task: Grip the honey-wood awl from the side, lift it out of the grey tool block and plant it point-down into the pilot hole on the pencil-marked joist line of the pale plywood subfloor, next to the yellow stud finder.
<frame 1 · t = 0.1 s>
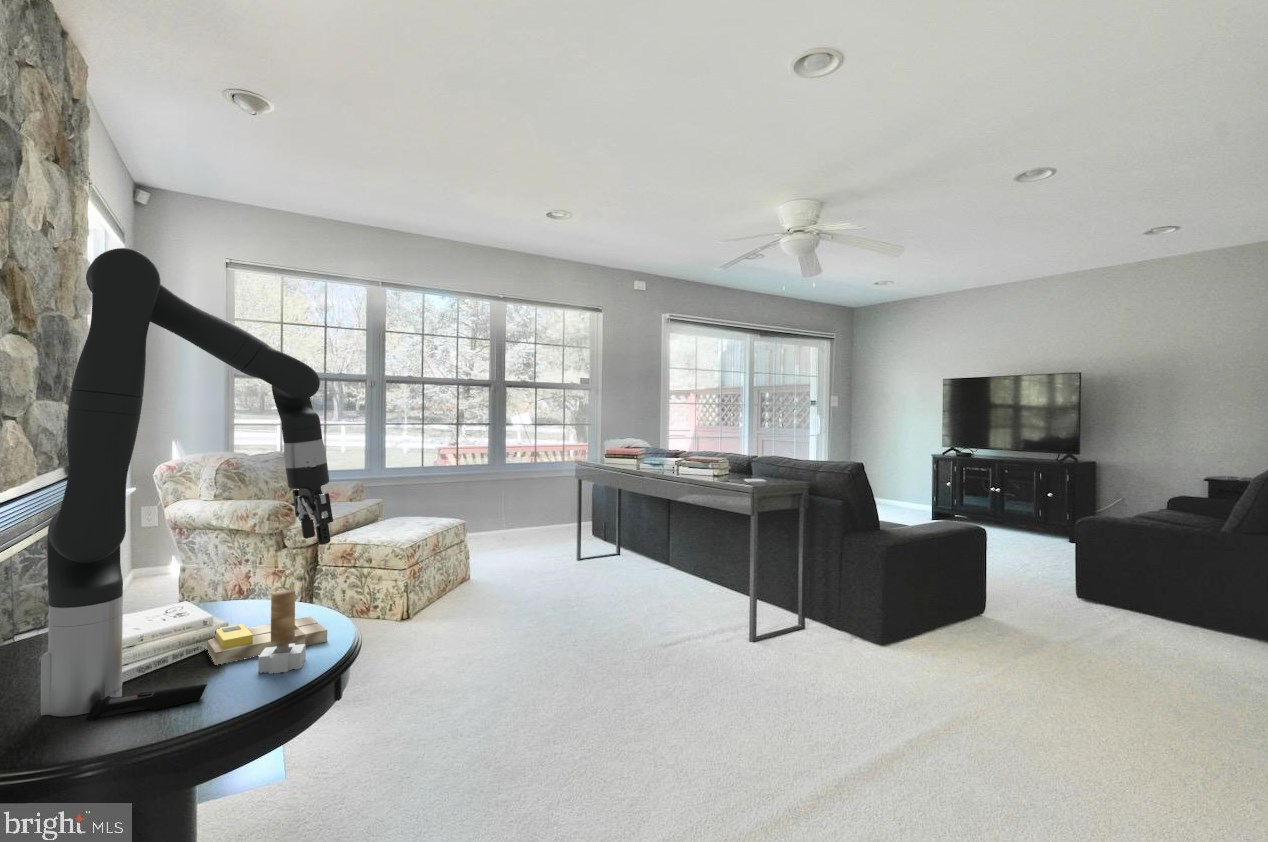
hand: (316, 540, 129), 22 cm above the table, tool pointing down, fingers open, 8 cm apart
tool block: (282, 665, 120), on the table
electric trimmer: (147, 710, 102), on the table
subfloor: (266, 644, 131), on the table
stud finder: (233, 639, 127), point 2 cm above the table, touching subfloor
awl: (282, 666, 120), resting in tool block
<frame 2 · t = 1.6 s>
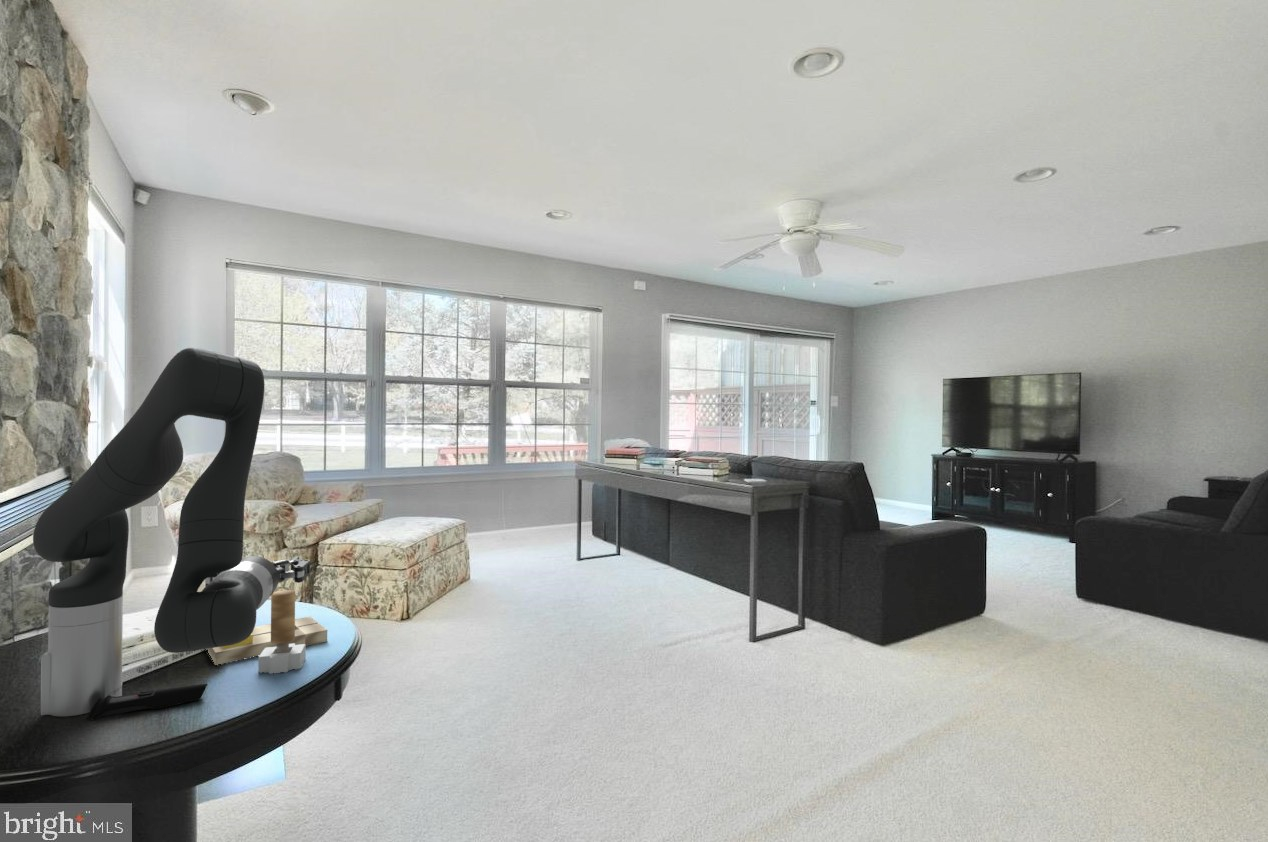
hand: (269, 563, 110), 22 cm above the table, tool horizontal, fingers open, 8 cm apart
nothing on the table moved.
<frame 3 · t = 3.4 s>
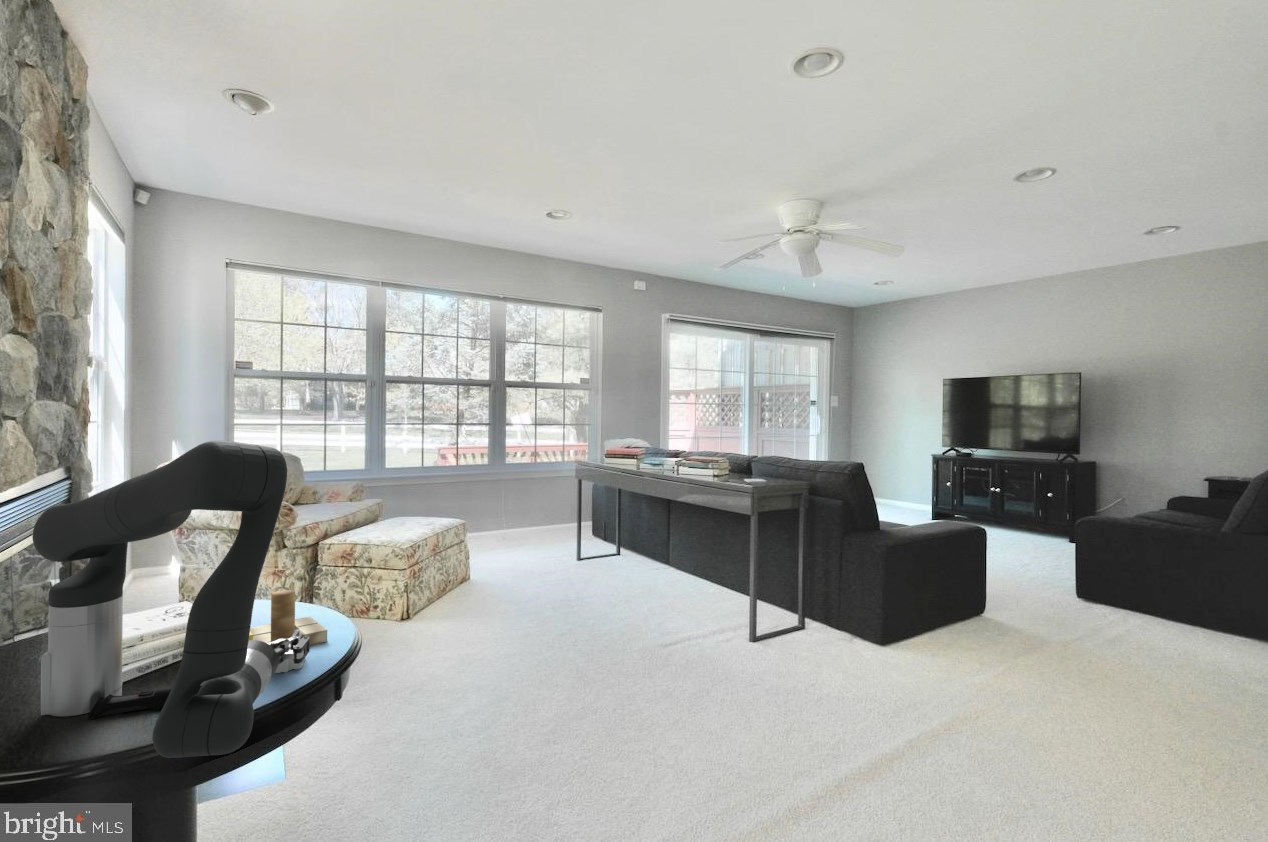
hand: (270, 638, 111), 9 cm above the table, tool horizontal, fingers open, 8 cm apart
nothing on the table moved.
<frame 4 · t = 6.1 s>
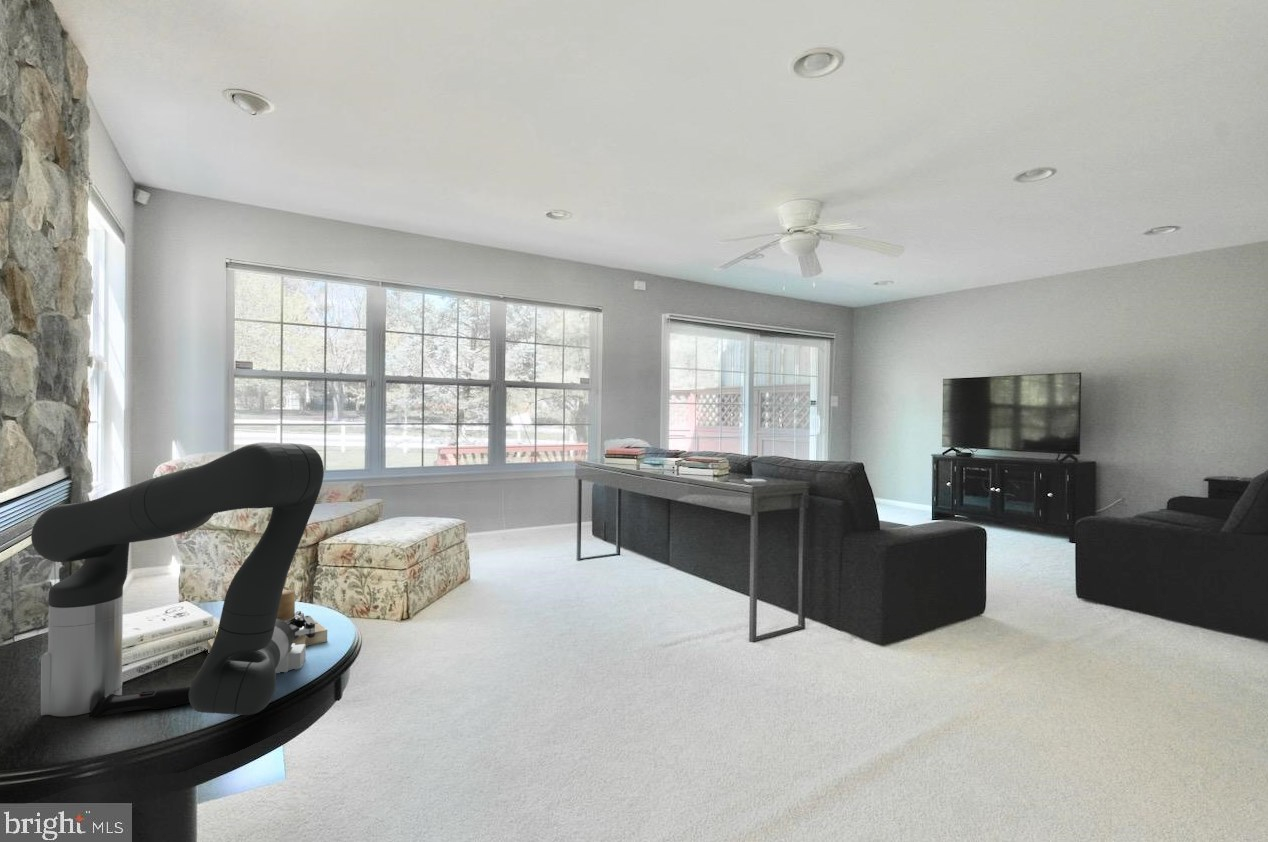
hand: (285, 617, 123), 8 cm above the table, tool horizontal, fingers closed on awl, 4 cm apart
awl: (282, 666, 120), resting in tool block, touching gripper
everything else where it was.
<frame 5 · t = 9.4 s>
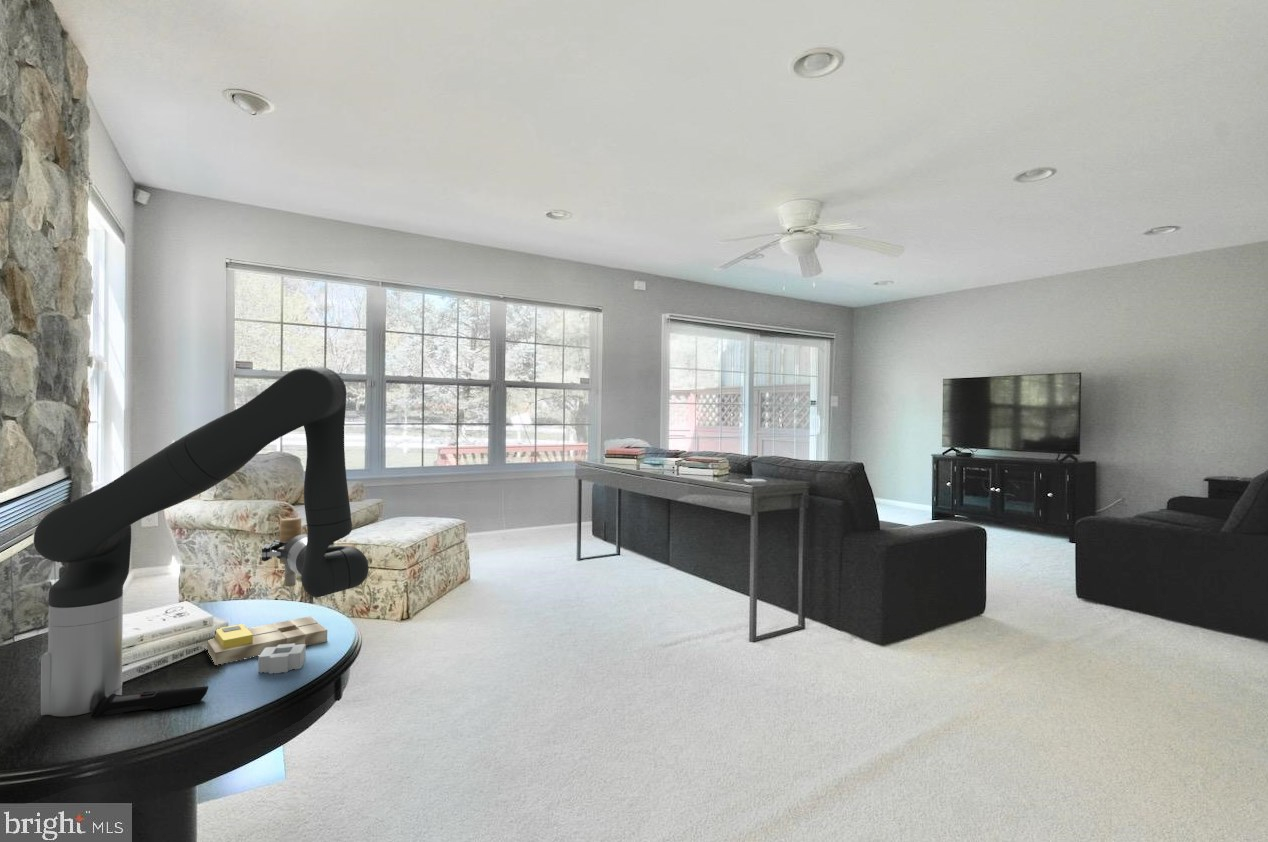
hand: (287, 543, 135), 20 cm above the table, tool horizontal, fingers closed on awl, 4 cm apart
awl: (290, 585, 133), point 12 cm above the table, touching gripper
everything else where it was.
when the fingers open (9 cm above the table, at t = 12.5 s): awl stays where it is, resting in subfloor.
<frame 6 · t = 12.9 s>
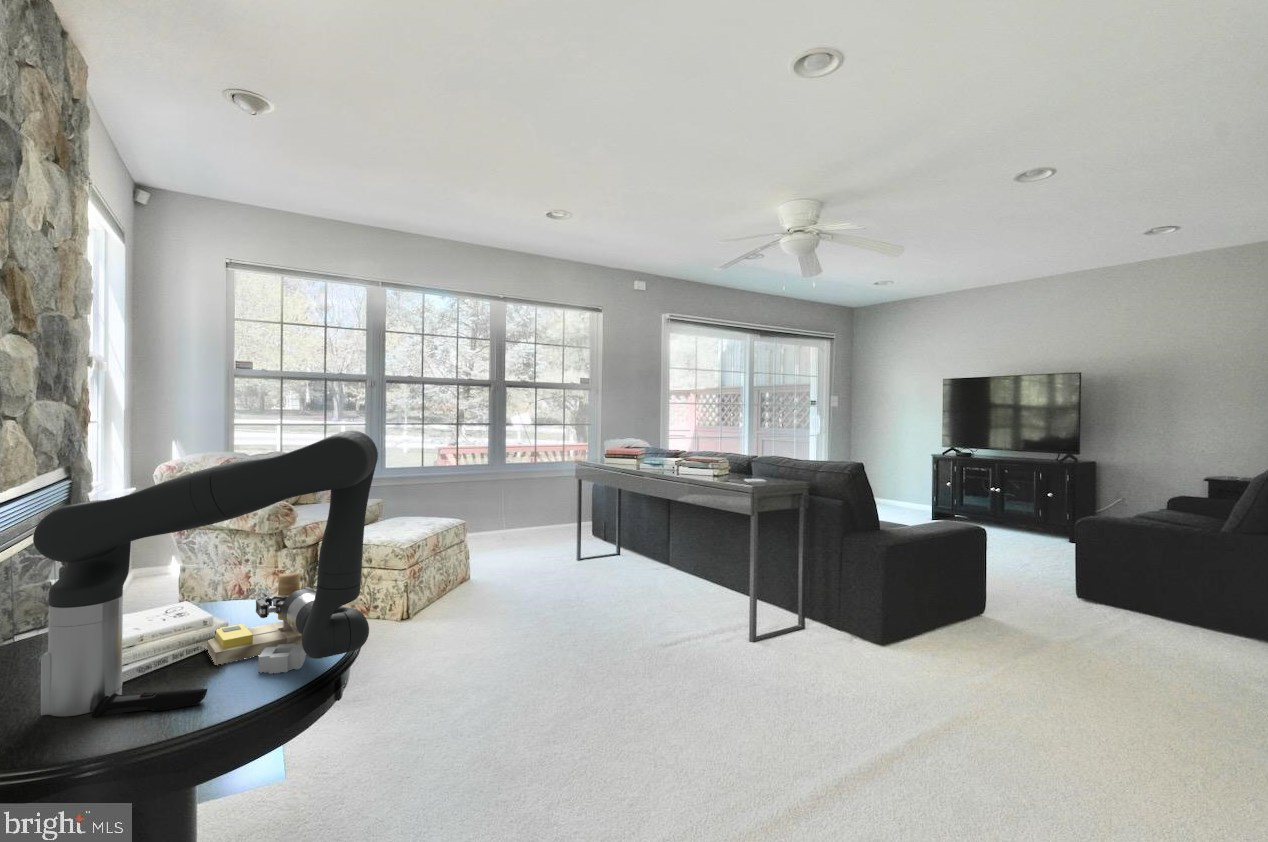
hand: (285, 594, 135), 9 cm above the table, tool horizontal, fingers open, 7 cm apart
awl: (288, 640, 134), resting in subfloor
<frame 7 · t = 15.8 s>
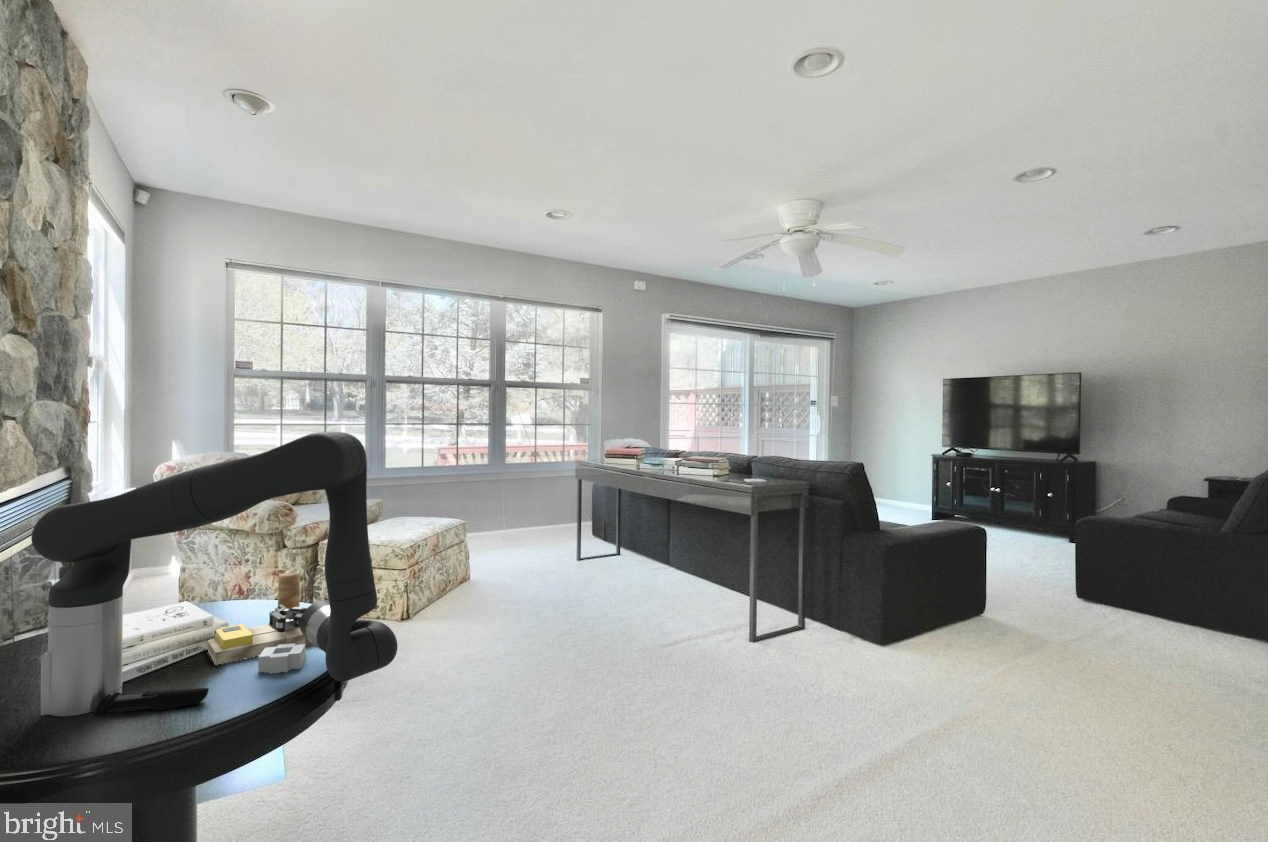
hand: (303, 605, 126), 10 cm above the table, tool horizontal, fingers open, 8 cm apart
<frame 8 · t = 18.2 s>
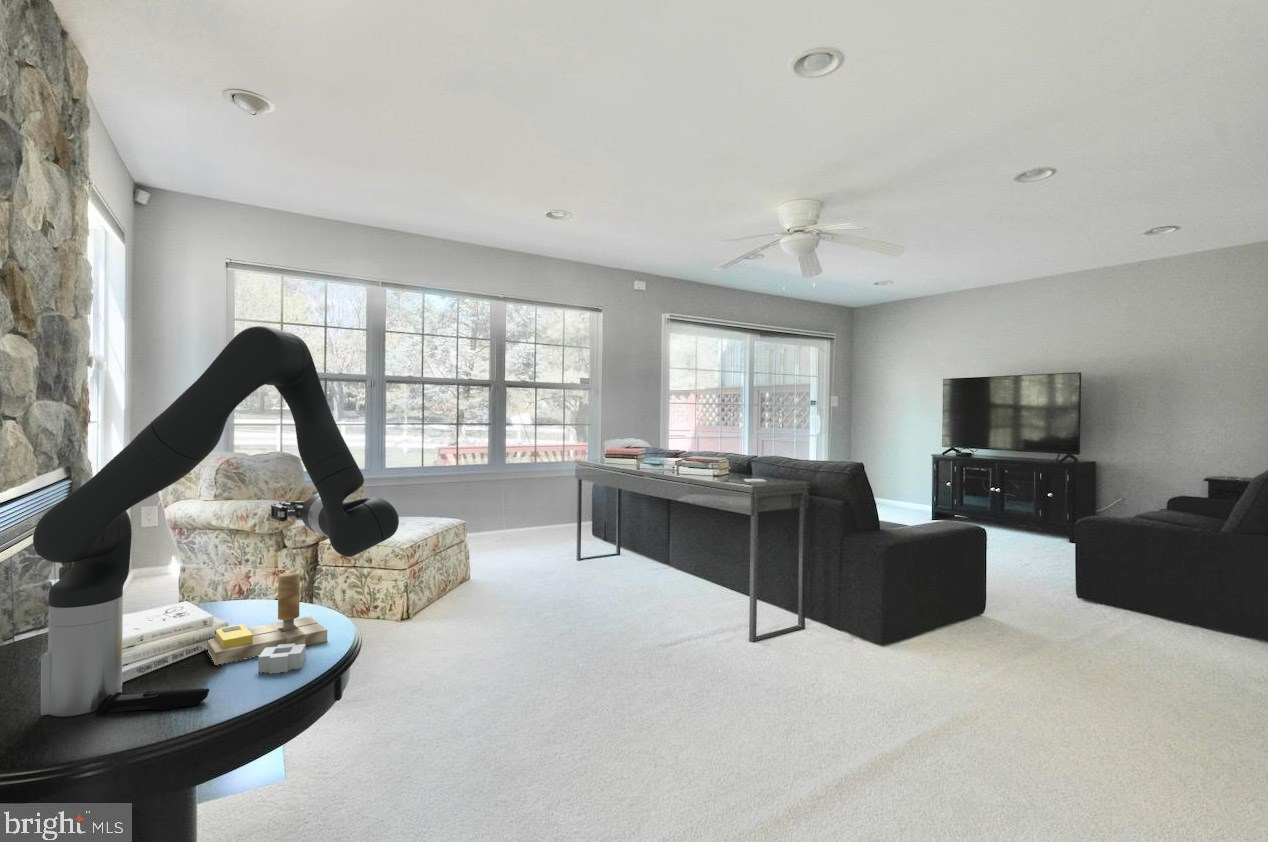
hand: (304, 505, 126), 30 cm above the table, tool horizontal, fingers open, 8 cm apart
nothing on the table moved.
at the end: awl 0.1 cm from the target spot on the subfloor, point 0.0 cm above the subfloor's base; awl tilted 0°; the gripper is holding nothing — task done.
